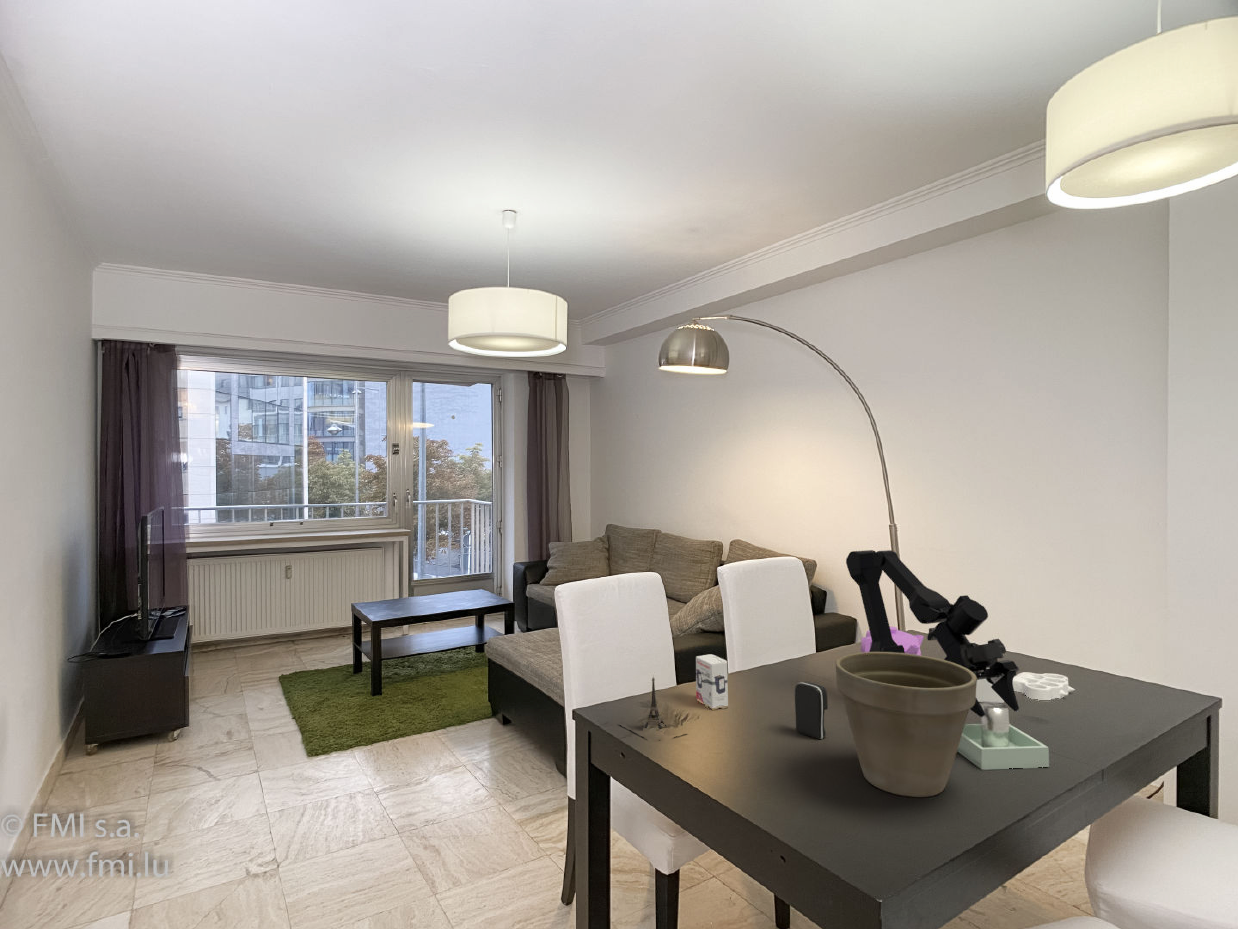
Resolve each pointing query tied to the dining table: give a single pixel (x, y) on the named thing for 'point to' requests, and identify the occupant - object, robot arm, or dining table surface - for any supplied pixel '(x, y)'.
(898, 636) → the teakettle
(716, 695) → the ink box
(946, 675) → the plant pot
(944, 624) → the robot arm
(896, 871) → the dining table surface
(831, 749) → the dining table surface
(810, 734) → the battery charger
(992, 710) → the can
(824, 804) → the dining table surface
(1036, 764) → the tray
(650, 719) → the eiffel tower figurine
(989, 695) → the medicine bottle
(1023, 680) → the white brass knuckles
